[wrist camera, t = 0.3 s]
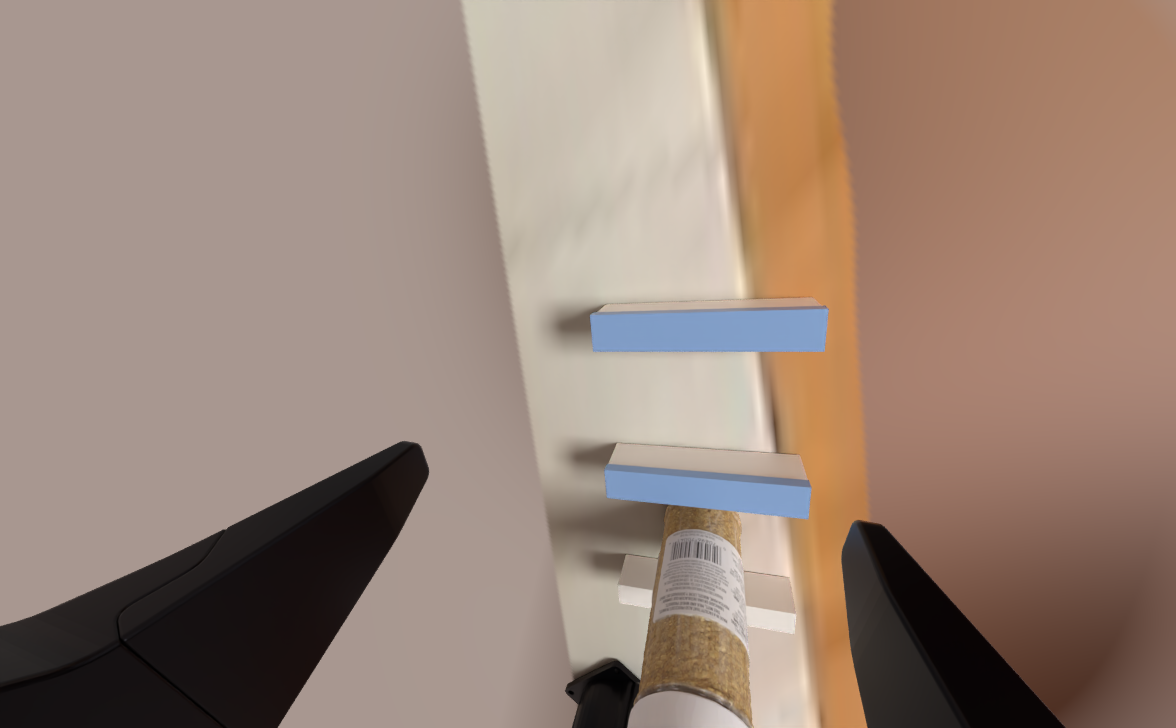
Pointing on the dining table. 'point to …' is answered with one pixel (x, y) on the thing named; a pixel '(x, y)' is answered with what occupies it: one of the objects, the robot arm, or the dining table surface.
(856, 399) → the dining table surface
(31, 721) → the robot arm
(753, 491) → the rail comb
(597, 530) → the dining table surface
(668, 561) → the sprinkles bottle
